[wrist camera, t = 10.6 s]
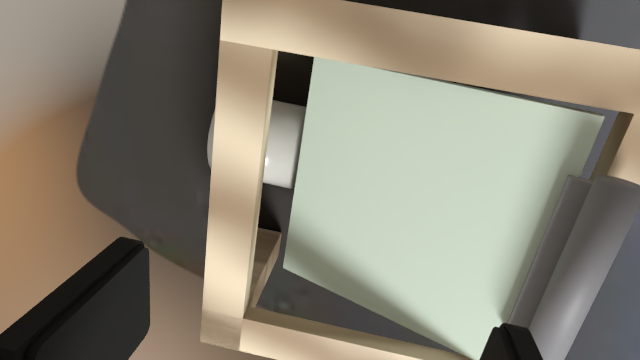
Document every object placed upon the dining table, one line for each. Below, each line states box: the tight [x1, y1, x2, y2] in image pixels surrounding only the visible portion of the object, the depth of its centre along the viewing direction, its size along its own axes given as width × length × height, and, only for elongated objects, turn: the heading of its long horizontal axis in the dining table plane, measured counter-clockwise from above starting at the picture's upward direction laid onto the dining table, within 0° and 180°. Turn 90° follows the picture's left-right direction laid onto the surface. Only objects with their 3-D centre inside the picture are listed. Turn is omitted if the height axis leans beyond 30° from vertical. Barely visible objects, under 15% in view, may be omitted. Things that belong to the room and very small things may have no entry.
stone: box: [207, 100, 307, 189], centre depth 25 cm, size 5×5×5 cm
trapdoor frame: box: [200, 0, 640, 360], centre depth 23 cm, size 18×18×10 cm
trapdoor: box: [283, 57, 640, 360], centre depth 19 cm, size 13×15×3 cm
